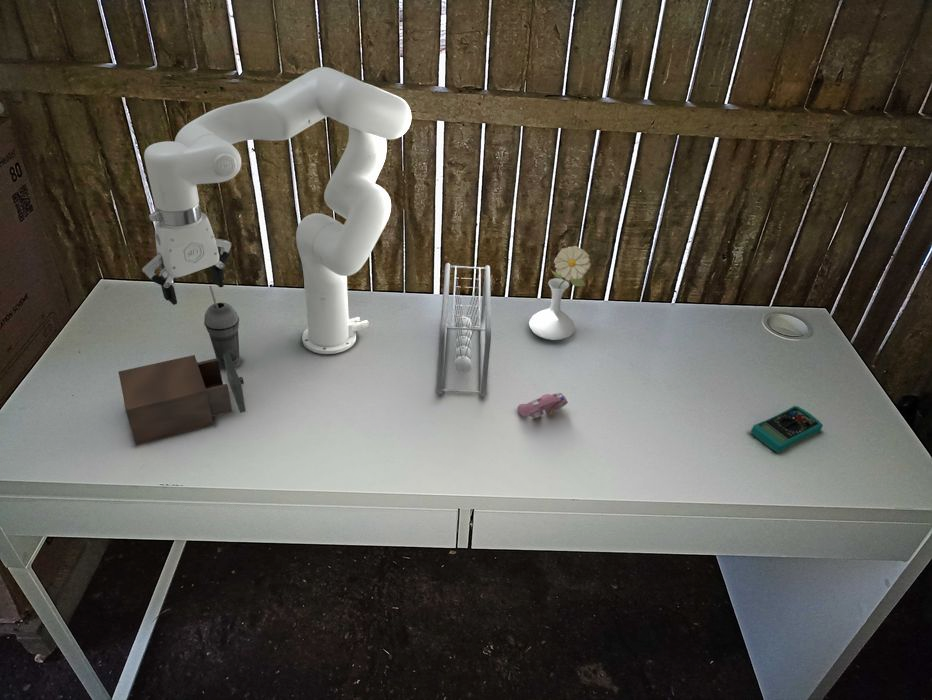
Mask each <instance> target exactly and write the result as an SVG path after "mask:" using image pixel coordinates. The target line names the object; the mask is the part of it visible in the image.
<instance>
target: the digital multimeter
mask: <svg viewBox="0 0 932 700" xmlns="http://www.w3.org/2000/svg"><path fill="white" fill-rule="evenodd" d="M823 426H824V424H823V423H822V422H821V421H820V420H819V419H818V418H817V417H815V416H813V414H811V413H810V412H808V411H807V410H805V409H804V408H802V407H800V406H798V405H793V406H792V407H790V408H788V409H786V410H784V411H782V412H780V413H778V414H777V415H774V416H772V417H770V418H768V419H766V420H763V421H760V422H758V423H756V424H753V426H752V428H751V431H750V433H751V434H752V435H753V436H754V437H755V438H757V439H758V440H759V441H760V442H761V443H763V444H764V445H765V446H767V447H768V448H770V449H771V450H772V451H774V452H775V453H777V454H779V453H781V452H783V451H785V450H787V449H788V448H790V447H791V446H793V445H795V444H797V443H798V442H801V441H803V440H805V439H807V438H809V437H811V436H814V435H816V434H818V433H820V432H821V431H822V428H823Z"/></svg>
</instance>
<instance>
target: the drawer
mask: <svg viewBox="0 0 932 700" xmlns="http://www.w3.org/2000/svg"><path fill="white" fill-rule="evenodd" d="M223 356H224V361H225V367H226V369H225V372H226V378H227V382H228V383H224V382H223V378H222V372H221V368H220V366H219V361H218V358H216V357H215V358H211V359H207V360H201V361H197V363H198V366H199V369H200V372H201V376H202V379H203V382H204V385H205V388H206V391H207V396H208V401H209V406H210V411H211V415H212V417H216V416H220V415H225V414H228V413H232V412H233V407H232V401H231V396H230V391H231V393H232V395H233V399H234V401H235V403H236V406H237V409H238V412H239V414H242V413H246V412H247V410H246V404H245V397H244V392H243V385H244V384H245V380H244V378H243V376H239V375H238V372H237V370H236V367H234V364H233V362H232V359H231V357H230V354H229V353H225V354H223ZM229 387H230V391H229Z"/></svg>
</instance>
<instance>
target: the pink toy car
mask: <svg viewBox="0 0 932 700" xmlns="http://www.w3.org/2000/svg"><path fill="white" fill-rule="evenodd" d="M568 403H569V402H568V400H567V397H566V396H565V395H564V394H563V393H562V392H557V393H545V394H543V395H541V396H540V397H538V398H536V399H533V400H531V401H529V402H527V403H521V404H519V405H518V406H517V412H518V414H519V415H520V416H522V417H524V418H525V417H529V418H534V419H536V418H539V417H541V416H543V414H544V411H545V414H546V415H548V414H554V412H555V411H557V410H559V409H561V408H563V407H564V406H566V405H567V404H568Z"/></svg>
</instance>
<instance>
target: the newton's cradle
mask: <svg viewBox="0 0 932 700" xmlns="http://www.w3.org/2000/svg"><path fill="white" fill-rule="evenodd" d="M451 268H452V269H453V268H454V274H453V275H454V277H453V294H452V310H451V324H448V317H449V298H450V297H449V296H450V280H451V279H450V277H451V275H450V274H451ZM457 269H473V270H478V278H477V279H476V283H475V287H473V286H469V287H468V286H466V288H468V289H469V288H470V289H473V293H472V295H465V297H468V298H471V300H470V303H469V305H468V309H467V313H466V314H464V313H463V307H467V305H465V304H463V305H462V301H461V294H460V286H459V282H458V277H457ZM481 270H484V273H483V274H484V275H483V284H481V281H482V280H481V277H482V274H481ZM462 279H466V280H471V278H468V277H462ZM456 285H457V286H456ZM481 285H483V286H482V287H481ZM477 286H478V287H477ZM481 288H482V297H481ZM475 291H476V292H475ZM477 294H478V296H477ZM491 299H492V297H491V266H490V265H488V264H487V265H485V267H483V266H481V267H480V266H465V265H462V266H461V265H451V264H450V263H449V262H446V263H445V265H444V278H443V289H442V304H441V313H440V314H441V315H440V324H439V327H440V328H439V344H438V364H437V365H438V367H437V391H436V392H437V395H442V394H443V393H444V392H449V393H450V392H451V393H467V394H479V395H480V398H481V397H482V398H484V397H485V396H486V393H487V386H488V385H487V383H488V376H489V375H488V373H489V364H490V363H489V362H490V353H491V352H490V351H491V343H492V342H491V341H492V308H491V307H492V305H491V303H492V302H491V301H492V300H491ZM477 302H478V305H477ZM471 304H472V305H471ZM470 307H471V308H470ZM472 310H473V311H472ZM469 311H470V312H469ZM477 311H478V315H477ZM474 312H475V313H474ZM471 313H472V314H471ZM468 314H469V315H468ZM472 318H473V319H472ZM475 318H476V319H475ZM474 321H475V322H474ZM477 321H478V326H477ZM454 323H455V324H454ZM473 324H474V325H473ZM448 330H456V331H455V337H456V340H455V343H454V345H455V347H456V349H455V351H454V357H455V360H454V364H453V365H454V368H455V370H456V371H457V372H459V373H462V374H463V373H467V372H469V371H470V370H471V367H472V361H471V357H472V350H471V348H472V344H473V343H472V337H473V334H474V331H477V332H478V331H479V391H477V390H464V389H463V390H461V389H446V388H445V389H444V379H445V378H444V376H445V364H446V361H445V360H446V349H447V335H448V332H447V331H448Z"/></svg>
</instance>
